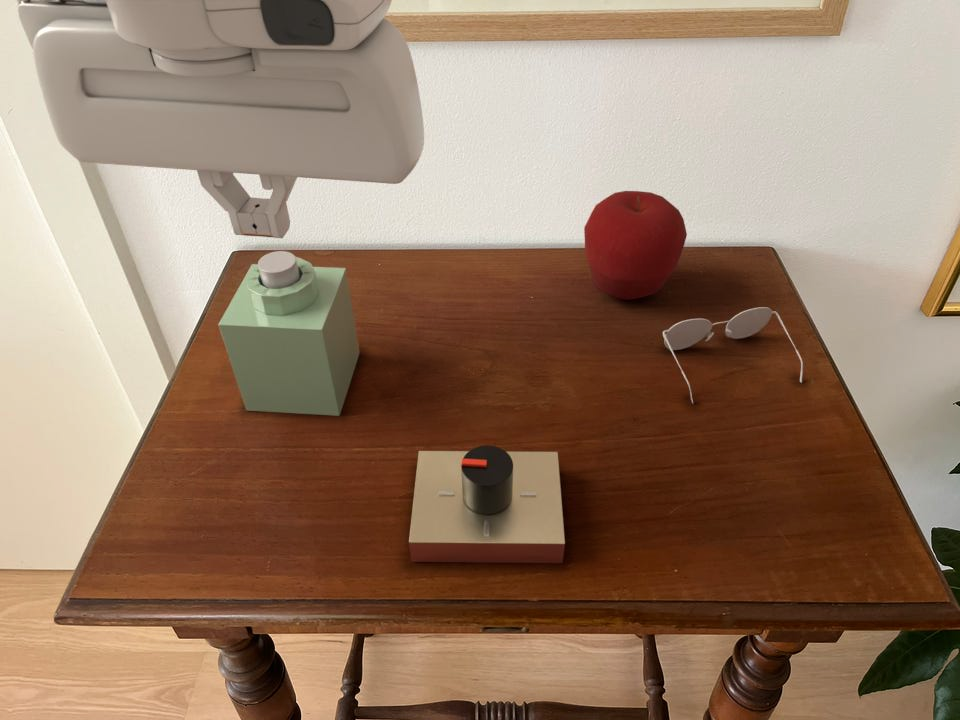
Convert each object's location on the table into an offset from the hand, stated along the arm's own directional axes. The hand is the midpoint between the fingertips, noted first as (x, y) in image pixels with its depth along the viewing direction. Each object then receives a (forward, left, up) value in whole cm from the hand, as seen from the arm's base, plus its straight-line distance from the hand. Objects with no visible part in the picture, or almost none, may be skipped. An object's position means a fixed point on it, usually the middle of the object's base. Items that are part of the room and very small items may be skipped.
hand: (263, 231), depth 44 cm
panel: (+8, -11, -31) cm, 34 cm away
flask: (+14, +15, -31) cm, 37 cm away
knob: (+8, -11, -28) cm, 31 cm away
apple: (+46, -10, -31) cm, 57 cm away
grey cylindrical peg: (+14, +15, -18) cm, 27 cm away
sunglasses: (+38, -25, -31) cm, 55 cm away
